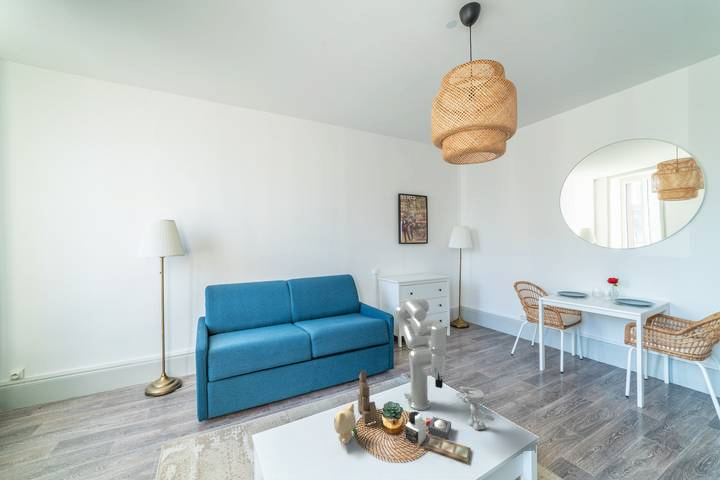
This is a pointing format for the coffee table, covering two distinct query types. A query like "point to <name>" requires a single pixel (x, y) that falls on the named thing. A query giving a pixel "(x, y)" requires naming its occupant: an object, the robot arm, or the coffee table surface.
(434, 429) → the dome housing
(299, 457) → the coffee table surface
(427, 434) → the frame
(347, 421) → the kitten
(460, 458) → the board
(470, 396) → the cartoon character
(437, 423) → the dome
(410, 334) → the robot arm
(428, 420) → the red die
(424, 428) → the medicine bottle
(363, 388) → the wooden toy
